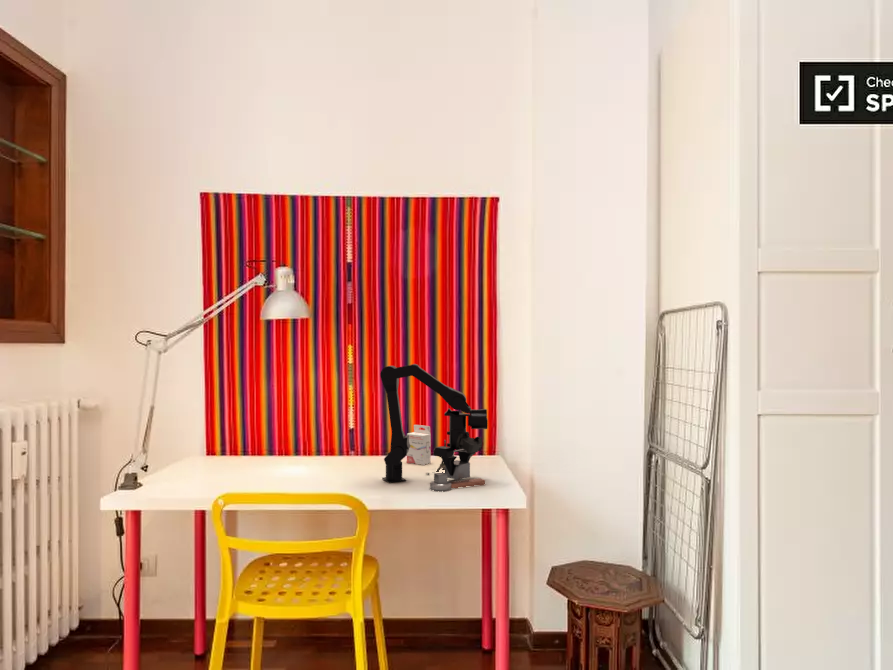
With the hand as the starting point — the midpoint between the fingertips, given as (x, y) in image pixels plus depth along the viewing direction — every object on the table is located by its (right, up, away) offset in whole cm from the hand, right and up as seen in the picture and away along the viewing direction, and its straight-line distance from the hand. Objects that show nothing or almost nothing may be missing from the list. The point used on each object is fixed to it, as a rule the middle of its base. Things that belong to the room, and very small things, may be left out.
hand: (457, 474), depth 216 cm
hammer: (0, -3, -8) cm, 8 cm away
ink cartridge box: (-15, -3, +31) cm, 34 cm away
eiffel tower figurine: (-4, -3, +15) cm, 16 cm away
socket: (0, -1, 0) cm, 1 cm away
